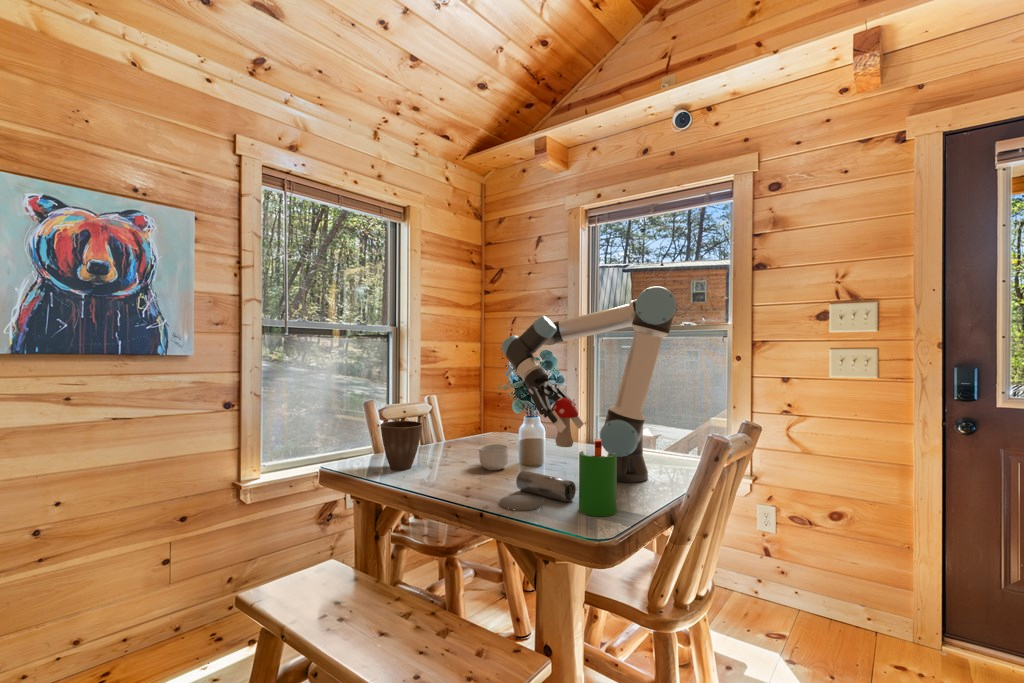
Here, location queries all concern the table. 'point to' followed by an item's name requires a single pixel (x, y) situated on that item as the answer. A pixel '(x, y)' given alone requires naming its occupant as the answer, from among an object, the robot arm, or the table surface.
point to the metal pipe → (546, 486)
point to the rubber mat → (521, 502)
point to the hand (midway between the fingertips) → (572, 427)
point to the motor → (597, 483)
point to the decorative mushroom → (565, 420)
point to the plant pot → (401, 442)
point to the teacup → (493, 456)
